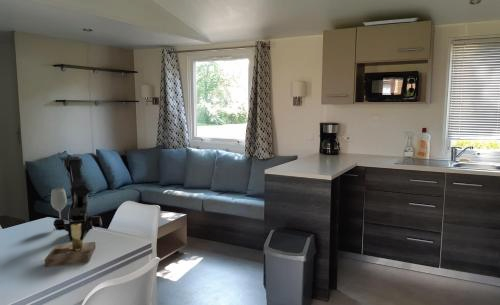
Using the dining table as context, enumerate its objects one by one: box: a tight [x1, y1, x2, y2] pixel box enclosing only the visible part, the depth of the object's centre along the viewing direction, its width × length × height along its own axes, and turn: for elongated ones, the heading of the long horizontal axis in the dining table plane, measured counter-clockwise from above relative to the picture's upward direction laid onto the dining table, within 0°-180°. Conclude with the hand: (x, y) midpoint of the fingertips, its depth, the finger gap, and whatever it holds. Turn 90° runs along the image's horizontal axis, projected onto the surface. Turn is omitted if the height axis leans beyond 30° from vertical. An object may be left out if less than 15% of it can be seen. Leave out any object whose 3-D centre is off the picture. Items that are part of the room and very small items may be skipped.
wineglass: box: [50, 188, 68, 231], centre depth 196 cm, size 8×8×21 cm
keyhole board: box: [44, 241, 96, 267], centre depth 158 cm, size 16×16×3 cm
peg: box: [71, 223, 83, 251], centre depth 158 cm, size 4×4×14 cm
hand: (76, 240), depth 156 cm, fingers closed on peg, 4 cm apart
